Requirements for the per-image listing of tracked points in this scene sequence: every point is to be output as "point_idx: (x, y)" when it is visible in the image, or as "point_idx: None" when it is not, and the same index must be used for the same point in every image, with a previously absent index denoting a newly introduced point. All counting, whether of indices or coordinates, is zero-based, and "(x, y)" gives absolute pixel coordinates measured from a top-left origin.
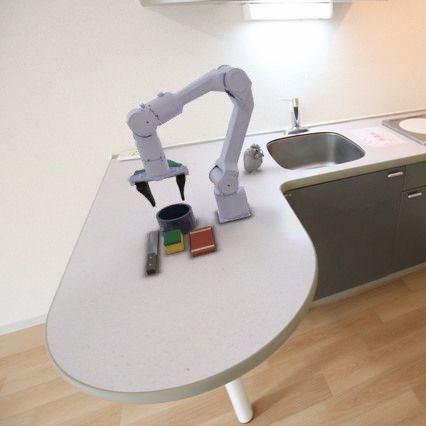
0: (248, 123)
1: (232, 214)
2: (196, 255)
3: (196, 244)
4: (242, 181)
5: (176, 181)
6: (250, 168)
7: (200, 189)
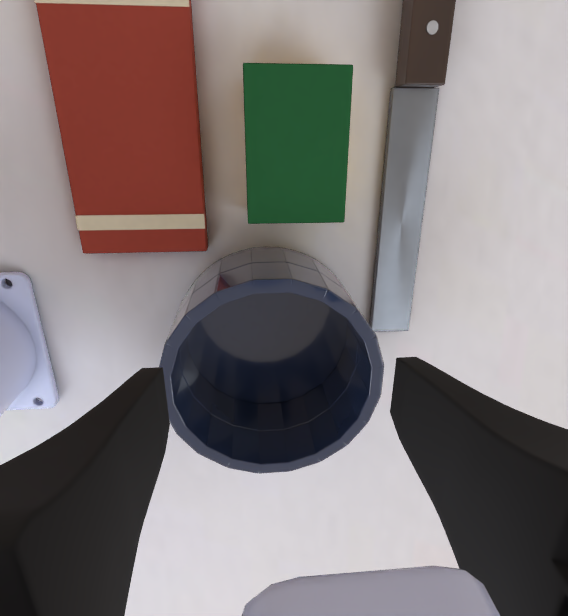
0: None
1: None
2: None
3: (159, 70)
4: None
5: (11, 532)
6: None
7: (165, 608)
